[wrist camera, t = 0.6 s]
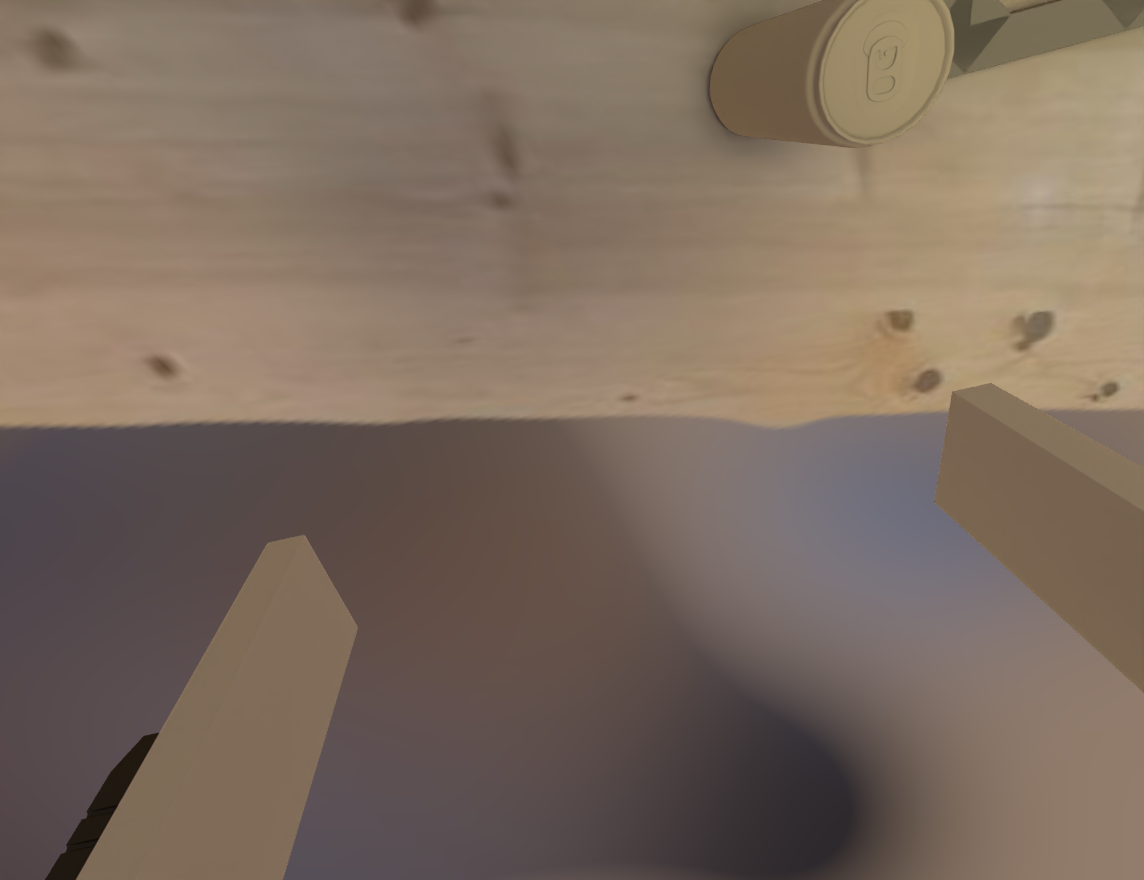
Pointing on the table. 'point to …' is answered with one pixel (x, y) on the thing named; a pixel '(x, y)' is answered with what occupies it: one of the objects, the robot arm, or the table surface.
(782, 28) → the beverage can
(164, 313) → the table surface
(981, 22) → the flat rectangular frame
